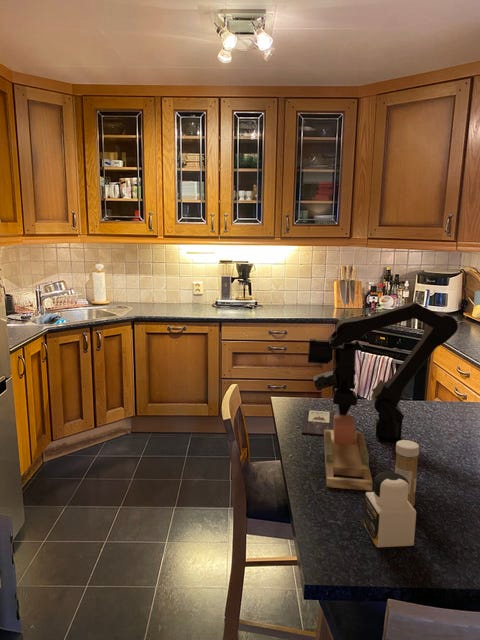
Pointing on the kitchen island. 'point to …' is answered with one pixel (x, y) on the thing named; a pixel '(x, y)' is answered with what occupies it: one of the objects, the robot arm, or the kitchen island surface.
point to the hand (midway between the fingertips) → (342, 418)
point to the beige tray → (347, 463)
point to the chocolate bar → (317, 422)
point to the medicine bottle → (390, 511)
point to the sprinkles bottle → (407, 465)
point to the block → (344, 429)
